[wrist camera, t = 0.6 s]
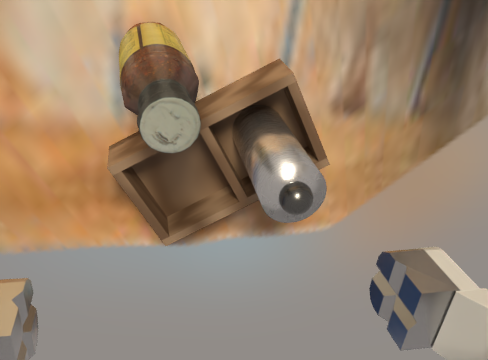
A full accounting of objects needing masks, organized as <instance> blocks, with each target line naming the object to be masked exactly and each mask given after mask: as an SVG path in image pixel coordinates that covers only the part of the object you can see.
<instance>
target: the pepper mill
mask: <svg viewBox="0 0 488 360" xmlns="http://www.w3.org/2000/svg"><path fill="white" fill-rule="evenodd" d="M232 137H233V140H234V142H235V145H236V147H237V149H238V151H239V154H240V156H241V158H242V161H243V163H244V165H245V168H246V170H247V172H248V175H249V177H250V179H251V182H252V184H253V186H254V189H255V191H256V193H257V196H258V198H259V200H260V202H261V205H262V207H263V209H264V211H265V213H266V214H267V215H268V216H269V217H270V218H272V219H274V220H276V221H279V222H284V223H291V222H297V221H300V220H303V219H305V218H307V217H309V216H310V215H312V214H313V213H314V212H315V211H316V210H317V209H318V208H319V207H320V206H321V204H322V203H323V201H324V198H325V195H326V182H325V179H324V177H323V175H322V174H321V173H320V171H319V170H318V168H317V167H316V166H315V164H314V163H313V161H312V160H311V158H310V157H309V156H308V154H307V153H306V151H305V150H304V149H303V147H302V146H301V144H300V143H299V142H298V140H297V139H296V137H295V136H294V134H293V133H292V132H291V130H290V129H289V127H288V126H287V125H286V123H285V122H284V120H283V119H282V117H281V116H280V115H279V113H278V112H277V111H276V110H275V109H273V108H271V107H269V106H265V105H255V106H251V107H249V108H247V109H245V110H243V111H242V112H241V113H240V114H239V115H238V116H237V117H236V119H235V121H234V123H233V126H232Z"/></svg>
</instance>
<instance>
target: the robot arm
mask: <svg viewBox="0 0 488 360" xmlns="http://www.w3.org/2000/svg"><path fill="white" fill-rule="evenodd" d="M376 265H377V267H378V269H379V270H380V271H379V272H378V273H377V274H376V275H375V276H374V277H373V278H372V281H371V284H370V288H369V289H370V299H371V303H372V305H373V308H374V310H375V311H376V313H377V314H378V316H380V317H382V318H383V319H385V320H386V321H388V325H387V330H388V332H389V333H390V335H391V336H392V338H393V340H394V341H395V343H396V344H397V346H398V347H399V349H400V350H411V349H420V348H430V347H432V350H434V351H435V352H436V353H438V354H439V355H440V356H442V357H443V358H444V359H446V360H488V289H486V288H484V289H480V288H479V287H478V286H477V285H476V284H475V283H474V282H473V281H472V280H471V279H470V278H469V277H468V276H467V275H466V274H465V273H464V272H463V271H462V270H461V269H460V267H459V266H458V265H457V264H456V263H455V262H454V261H453V260H452V259H451V258H450V257H449V256H448V255H447V254H446V253H445V252H444V251H443V250H442V249H440V248H438V247H428V248H418V249H409V250H398V251H385V252H382V253H381V254H380V256H379V257H378V260H377V263H376ZM32 296H33V289H32V284H31V281H30V280H29V279H28V278H22V279H4V280H0V360H29V359H30V358H31V357H32V356H33V355H34V354H35V351H36V346H37V337H38V317H37V310H36V308H35V307H34V306H32V305H31V301H32Z"/></svg>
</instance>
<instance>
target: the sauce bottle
mask: <svg viewBox="0 0 488 360" xmlns="http://www.w3.org/2000/svg"><path fill="white" fill-rule="evenodd" d="M119 65H120V86H121V91H122V96H123V100H124V105H125V107H126V108H127V109H129V110H130V111H132V112H133V113H135V114H136V115H138V118H137V124H138V128H139V131H140V134H141V137H142V139H143V140H144V141H145V143H146V144H147V145H148V146H149V147H150V148H152V149H154V150H157V151H159V152H163V153H177V152H181V151H184V150H186V149H187V148H189V147H190V146H191V145H192V144H193V143H194V142H195V140H196V139H197V138H198V136H199V133H200V128H201V120H200V115H199V112H198V109H197V107H196V105H195V101H196V97H197V92H198V85H199V80H198V77H197V75H196V73H195V70H194V67H193V65H192V63H191V61H190V60H189V58H188V56H187V54H186V52H185V50H184V48H183V46H182V44H181V42H180V40H179V39H178V37H177V36H176V34H175V33H174V32H173V31H171V30H170V29H168V28H167V27H165V26H164V25H162V24H160V23H153V22H147V23H139V24H136V25H134V26H133V27H132V28H130V29H129V31H128V32H127V33H126V35H125V36H124V38H123V39H122V41H121V44H120V49H119Z"/></svg>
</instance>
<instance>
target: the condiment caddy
mask: <svg viewBox="0 0 488 360" xmlns="http://www.w3.org/2000/svg"><path fill="white" fill-rule="evenodd" d="M195 105H196V107H197V109H198V112H199V115H200V120H201V128H200V133H199V136H198V138H197V139H196V140H195V142H194V143H193V144H192V145H191V146H190V147H189V148H187V149H186V150H184V151H181V152H177V153H163V152H159V151H157V150H154V149H152V148H150V147H149V146H148V145H147V144H146V143H145V141H144V140H143V139H142V137H141V134H140V131H138V132H137V133H135V134H133V135H131V136H129V137H127V138H125V139H123V140H121V141H119V142H117V143H115V144H113V145H111V146H109V156H108V166H107V169H108V170H109V171H110V173H111V174H112V175H113V177H114V178H115V179H116V181H117V182H118V183H119V185H120V186H121V187H122V189H123V190H124V191H125V193H126V194H127V195H128V197H129V198H130V199H131V201H132V202H133V203H134V204H135V206H136V207H137V208H138V210H139V211H140V212H141V214H142V215H143V216H144V218H145V219H146V220H147V222H148V223H149V224H150V226H151V227H152V228H153V230H154V231H155V232H156V234H157V235H158V236H159V238H160V239H161V240H162V242H163V243H164V244H165V246H168V245H170V244H172V243H174V242H176V241H178V240H180V239H182V238H184V237H186V236H188V235H190V234H192V233H194V232H196V231H198V230H200V229H202V228H204V227H206V226H208V225H210V224H212V223H214V222H216V221H218V220H220V219H222V218H224V217H226V216H228V215H230V214H232V213H234V212H236V211H238V210H240V209H242V208H244V207H246V206H248V205H250V204H252V203H254V202H256V201H258V200H259V198H258V196H257V193H256V191H255V189H254V186H253V184H252V182H251V179H250V177H249V175H248V172H247V170H246V168H245V165H244V163H243V161H242V158H241V156H240V154H239V151H238V149H237V147H236V145H235V142H234V140H233V137H232V126H233V123H234V121H235V119H236V117H237V116H238V115H239V114H240V113H241V112H242V111H243V110H245V109H247V108H249V107H251V106H255V105H265V106H269V107H271V108H273V109H275V110H276V111H277V112H278V113H279V115H280V116H281V117H282V119H283V120H284V122H285V123H286V125H287V126H288V127H289V129H290V130H291V132H292V133H293V134H294V136H295V137H296V139H297V140H298V142H299V143H300V144H301V146H302V147H303V149H304V150H305V151H306V153H307V154H308V156H309V157H310V158H311V160H312V161H313V163H314V164H315V166H316V167H317V168H318V170H320V169H322V168H324V167H326V166H328V165H330V164H329V161H328V159H327V156H326V154H325V151H324V149H323V146H322V144H321V141H320V139H319V136H318V134H317V131H316V129H315V126H314V124H313V121H312V119H311V116H310V114H309V111H308V109H307V106H306V104H305V101H304V99H303V96H302V94H301V91H300V88H299V86H298V83H297V81H296V78H295V76H294V73H293V72H292V71H291V70H290V69H289V68H288V67H287V66H286V65H285V64H284V63H283V62H282V61H281V60H280V59H278V60H276V61H274V62H272V63H270V64H268V65H266V66H264V67H262V68H260V69H259V70H257V71H255V72H253V73H251V74H249V75H247V76H245V77H243V78H241V79H239V80H237V81H235V82H233V83H231V84H229V85H228V86H226V87H224V88H222V89H220V90H218V91H216V92H214V93H212V94H210V95H208V96H206V97H204V98H202V99H200V100H198V101H197V102H195Z"/></svg>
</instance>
